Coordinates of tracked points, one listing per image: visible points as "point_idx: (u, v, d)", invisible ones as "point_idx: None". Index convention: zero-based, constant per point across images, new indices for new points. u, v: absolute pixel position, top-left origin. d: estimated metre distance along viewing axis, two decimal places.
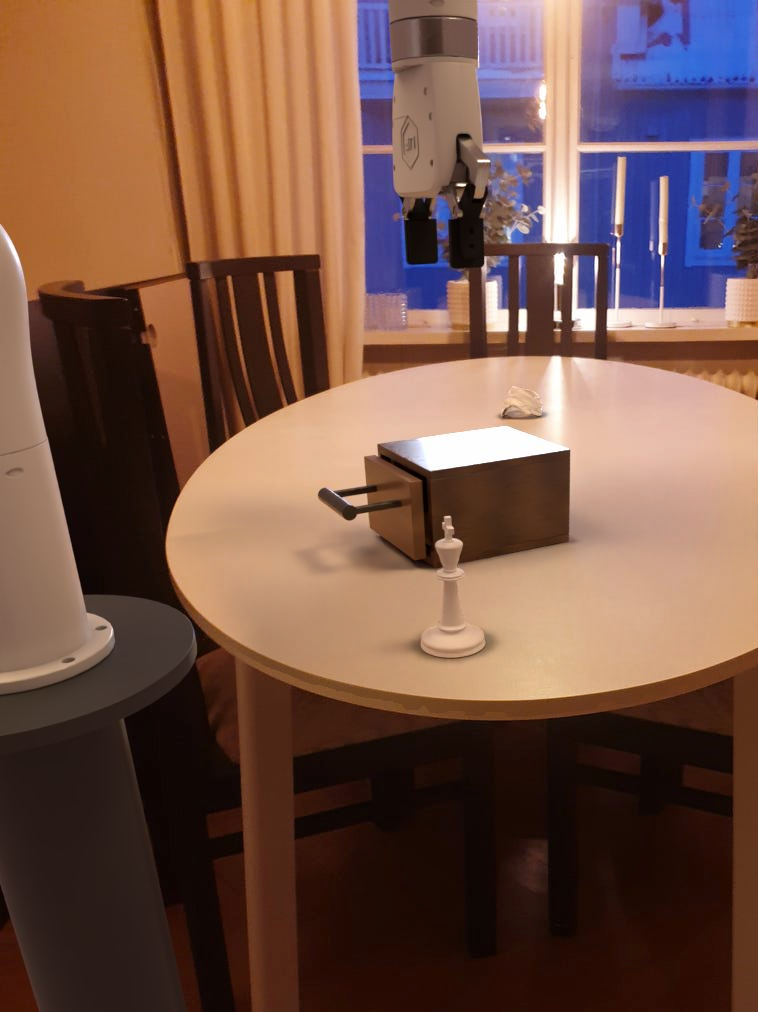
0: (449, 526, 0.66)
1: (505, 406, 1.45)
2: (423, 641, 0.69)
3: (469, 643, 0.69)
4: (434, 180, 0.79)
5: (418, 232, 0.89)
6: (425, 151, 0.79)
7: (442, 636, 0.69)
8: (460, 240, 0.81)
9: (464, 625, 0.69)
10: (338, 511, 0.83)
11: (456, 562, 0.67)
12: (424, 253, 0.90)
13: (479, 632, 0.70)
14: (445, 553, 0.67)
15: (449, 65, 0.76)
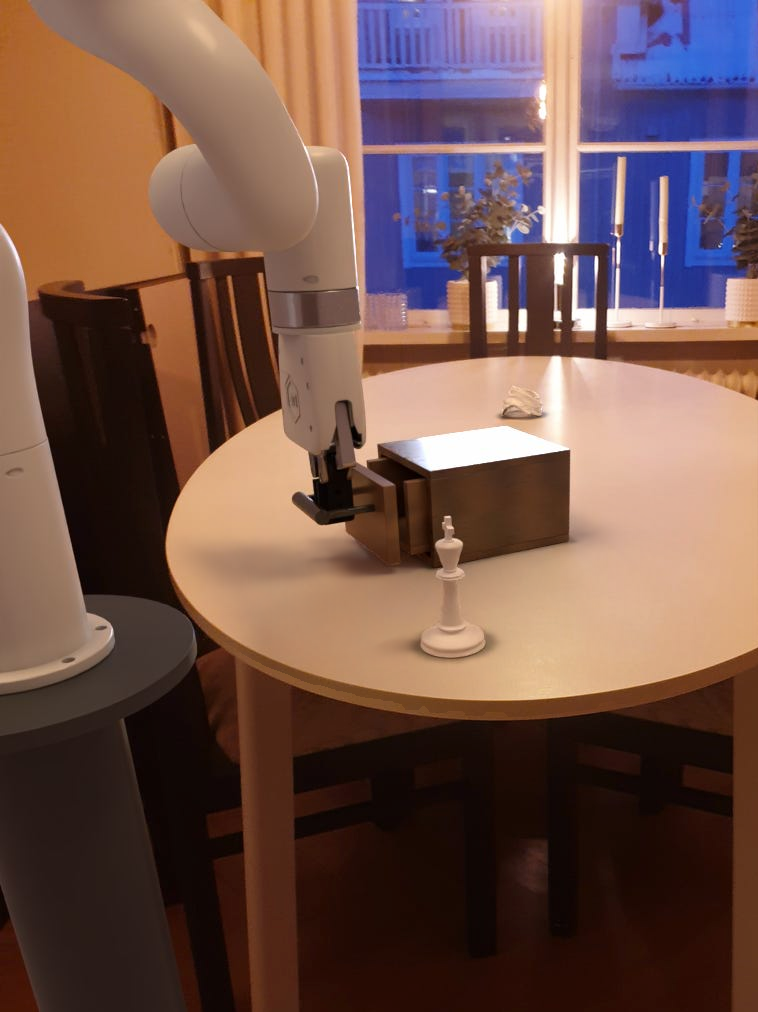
0: (449, 526, 0.66)
1: (505, 406, 1.45)
2: (423, 641, 0.69)
3: (469, 643, 0.69)
4: (314, 445, 0.78)
5: None
6: (305, 415, 0.78)
7: (442, 636, 0.69)
8: (328, 500, 0.84)
9: (464, 625, 0.69)
10: (311, 516, 0.82)
11: (456, 562, 0.67)
12: None
13: (479, 632, 0.70)
14: (445, 553, 0.67)
15: (325, 338, 0.75)
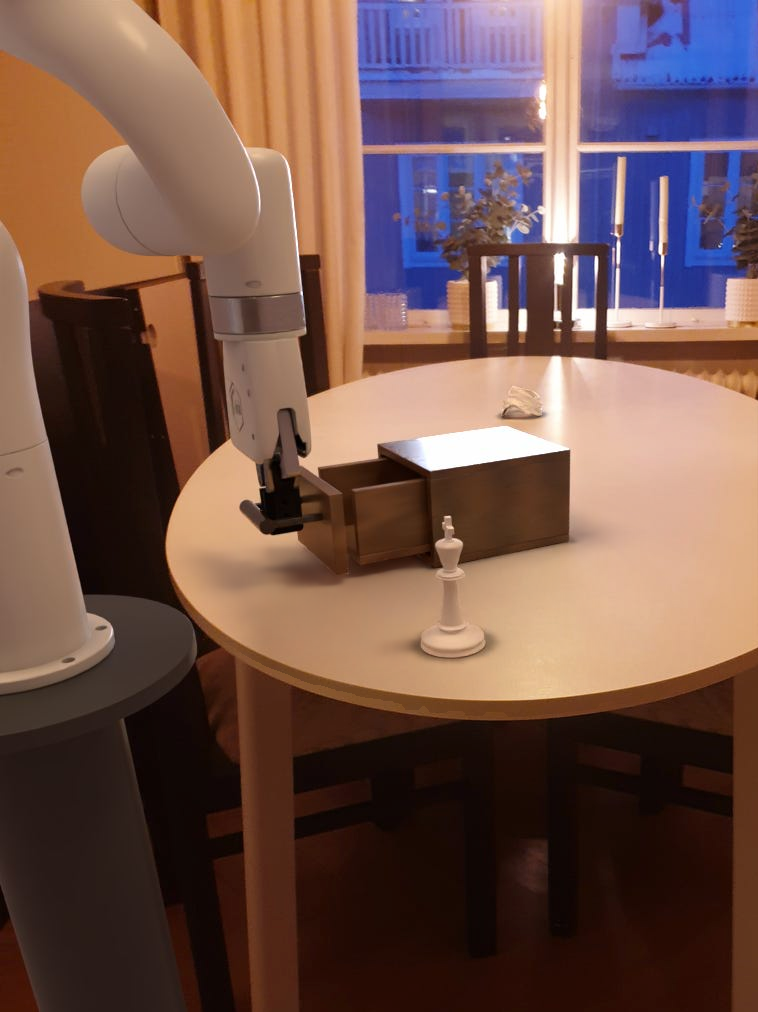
0: (449, 526, 0.66)
1: (505, 406, 1.45)
2: (423, 641, 0.69)
3: (469, 643, 0.69)
4: (256, 454, 0.76)
5: None
6: (247, 423, 0.76)
7: (442, 636, 0.69)
8: (275, 510, 0.82)
9: (464, 625, 0.69)
10: (256, 525, 0.80)
11: (456, 562, 0.67)
12: None
13: (479, 632, 0.70)
14: (445, 553, 0.67)
15: (265, 344, 0.73)
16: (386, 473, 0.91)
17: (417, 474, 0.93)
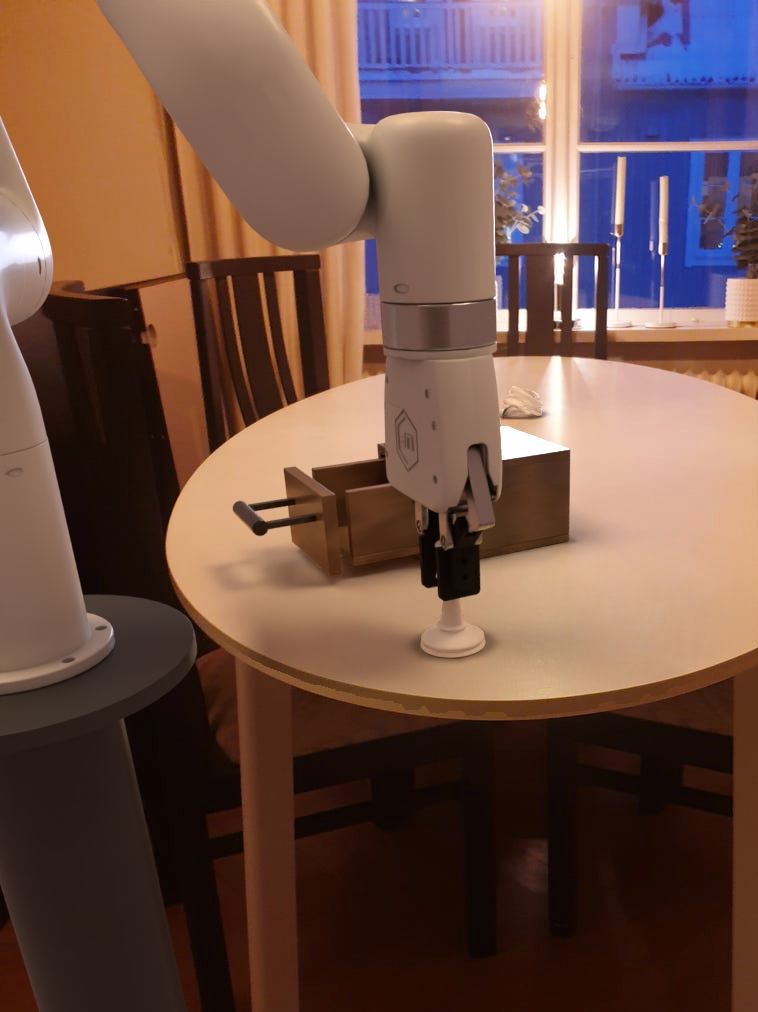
0: None
1: (505, 406, 1.45)
2: (423, 641, 0.69)
3: (469, 643, 0.69)
4: (438, 500, 0.61)
5: None
6: (426, 462, 0.61)
7: (442, 636, 0.69)
8: (451, 570, 0.66)
9: (464, 625, 0.69)
10: (249, 526, 0.80)
11: None
12: None
13: (479, 632, 0.70)
14: None
15: (458, 364, 0.58)
16: (380, 474, 0.91)
17: None
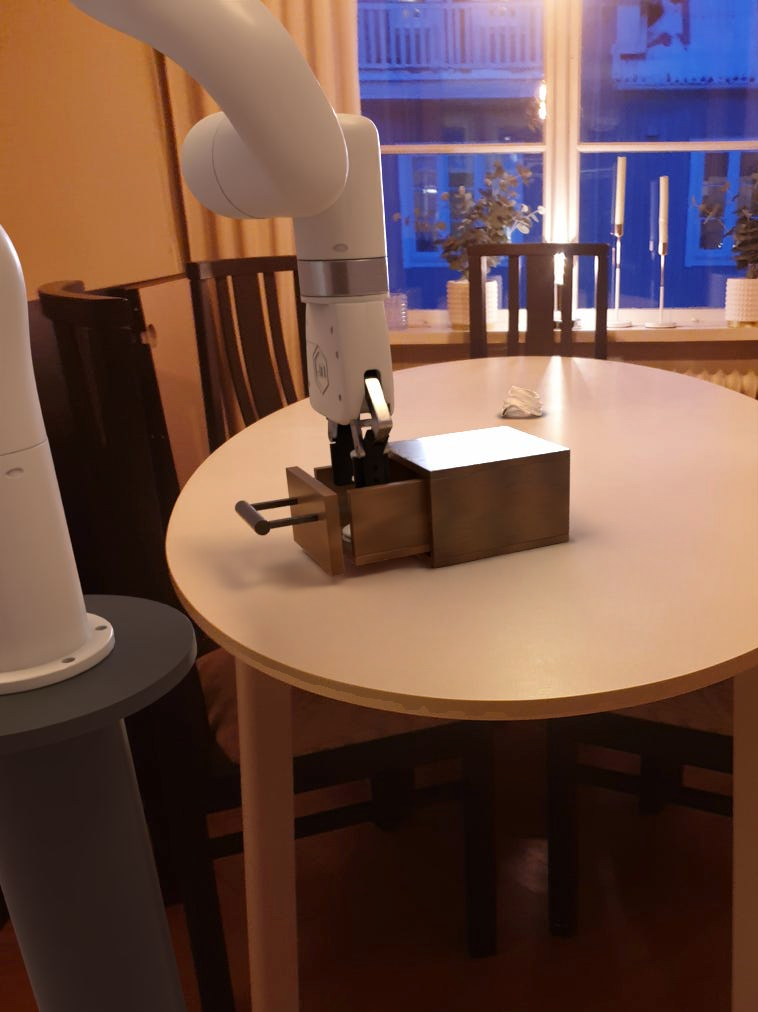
0: None
1: (505, 406, 1.45)
2: (343, 532, 0.87)
3: None
4: (343, 414, 0.78)
5: (344, 455, 0.87)
6: (334, 384, 0.78)
7: None
8: (364, 476, 0.82)
9: None
10: (251, 526, 0.80)
11: None
12: (351, 474, 0.88)
13: None
14: None
15: (355, 307, 0.75)
16: None
17: (413, 475, 0.93)
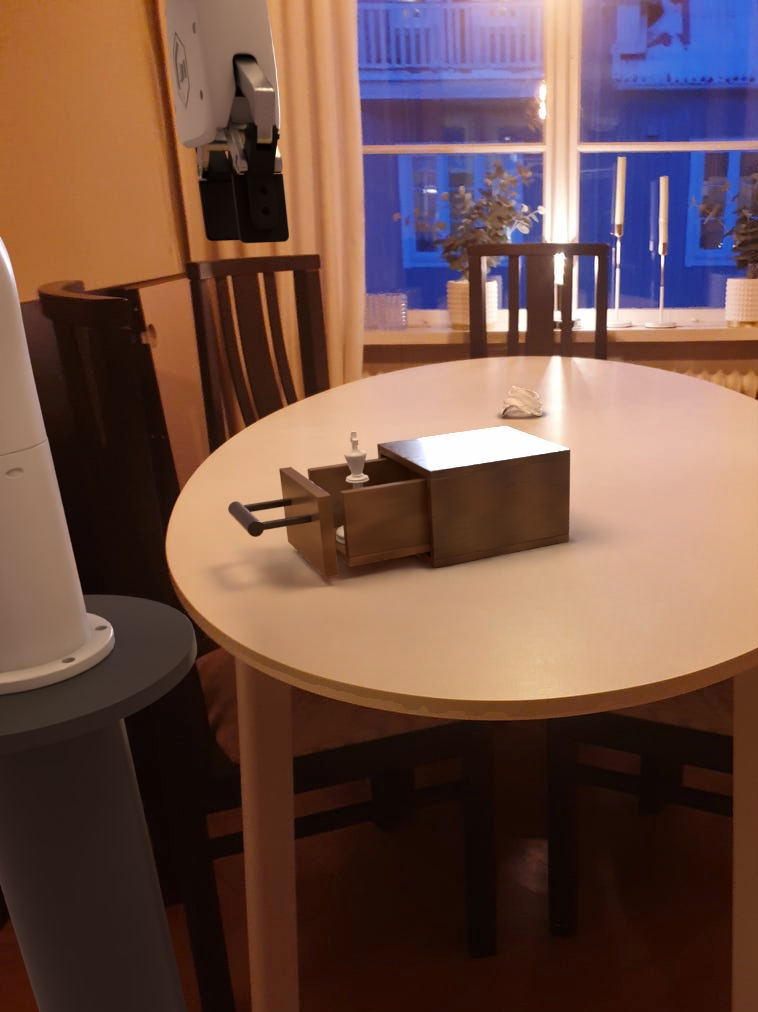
0: (355, 438, 0.84)
1: (505, 406, 1.45)
2: (337, 533, 0.87)
3: None
4: (206, 119, 0.57)
5: (218, 197, 0.67)
6: (194, 79, 0.57)
7: None
8: (250, 203, 0.59)
9: None
10: (244, 527, 0.80)
11: (361, 468, 0.85)
12: (229, 226, 0.68)
13: None
14: (351, 460, 0.84)
15: None
16: (376, 475, 0.91)
17: (408, 475, 0.93)
